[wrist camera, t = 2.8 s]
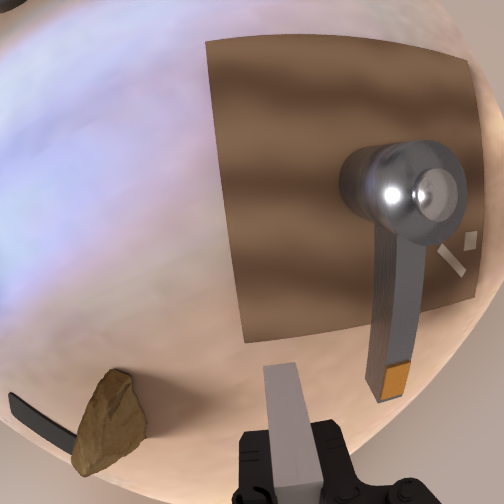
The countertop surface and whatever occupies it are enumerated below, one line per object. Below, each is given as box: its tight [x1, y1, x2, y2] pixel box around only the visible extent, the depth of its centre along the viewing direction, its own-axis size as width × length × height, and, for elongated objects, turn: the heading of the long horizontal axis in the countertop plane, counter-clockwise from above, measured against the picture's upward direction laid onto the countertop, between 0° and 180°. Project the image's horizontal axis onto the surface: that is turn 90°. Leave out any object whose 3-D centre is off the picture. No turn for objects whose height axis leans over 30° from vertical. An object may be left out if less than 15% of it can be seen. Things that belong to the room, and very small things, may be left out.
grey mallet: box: [339, 140, 468, 403], centre depth 16 cm, size 17×5×8 cm, turn 7°
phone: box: [8, 392, 77, 455], centre depth 28 cm, size 7×1×15 cm
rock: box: [71, 369, 147, 477], centre depth 23 cm, size 11×9×10 cm
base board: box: [205, 34, 484, 343], centre depth 19 cm, size 22×22×2 cm
